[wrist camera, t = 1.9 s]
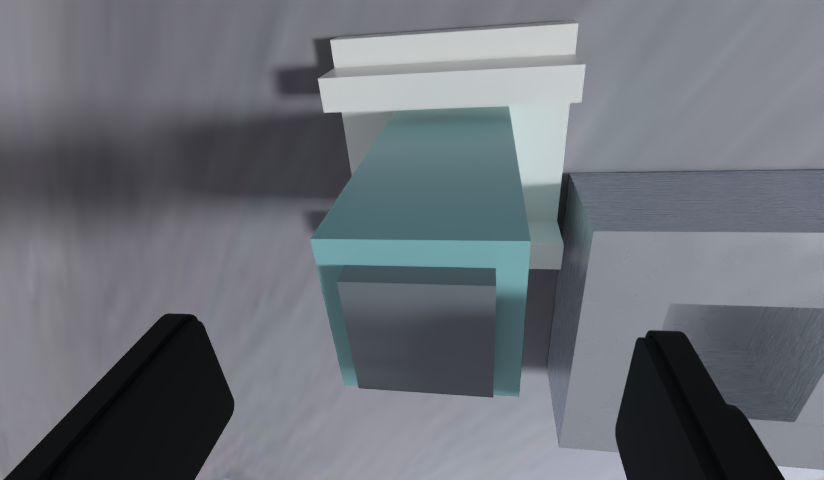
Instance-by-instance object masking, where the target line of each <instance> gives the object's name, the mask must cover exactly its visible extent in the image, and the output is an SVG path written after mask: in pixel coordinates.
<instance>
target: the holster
mask: <svg viewBox="0 0 824 480" xmlns="http://www.w3.org/2000/svg"><path fill="white" fill-rule="evenodd" d="M577 32H578V23H577V22H575V21H574V20H573V21H559V22H544V23H530V24H516V25H501V26H487V27H473V28H458V29H444V30H430V31H415V32H401V33H386V34H372V35H358V36H343V37H336V38H334V39H332V40H330V43H331V49H332V56H333V62H334V69H332V70H331V71H329V72H327V73H326V74H324V75H323V76H321V77H320V78H318V83H319V88H320V94H321V99H322V105H323V111H324V113H330V112H342V118H343V124H344V131H345V137H346V143H347V150H348V156H349V162H350V168H351V175H353V174H354V172H355V171H356V169H357V168H358V166H359V165H360V163H361V161H362V160H363V158H364V157H365V155H366V154H367V152H368V151H369V149H370V148H371V146H372V145H373V143H374V142H375V140H376V139H377V137H378V136H379V134H380V133H381V131H382V130H383V128H384V127H385V125H386V124H387V122H388V121H389V119H390V118H391V116H392V115H393V113H394V112H395V111H402V110H427V109H453V108H478V107H503V106H509V110H510V116H511V122H512V128H513V135H514V141H515V147H516V153H517V159H518V166H519V172H520V178H521V184H522V190H523V196H524V203H525V209H526V215H527V221H528V227H529V234H530V240H531V245H530V258H529V269H560V270H561V264H562V256H563V247H564V244H563V240H562V237H561V233H560V230H559V226H558V222H557V216H558V207H559V198H560V189H561V179H562V170H563V161H564V152H565V143H566V133H567V124H568V115H569V106H570V103H581V99H582V91H583V83H584V75H585V66H586V64H585V63H584V62H583V61H582V60H581V59H580V58H579V57H577V56H576V55H575V50H576V41H577Z"/></svg>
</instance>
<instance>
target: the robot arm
mask: <svg viewBox="0 0 824 480" xmlns="http://www.w3.org/2000/svg"><path fill="white" fill-rule="evenodd" d="M233 411H234V399H233V397H232V394H231V392H230V389H229V387H228V384H227V382H226V379H225V377H224V374H223V372H222V369H221V367H220V364H219V362H218V359H217V357H216V354H215V352H214V350H213V347H212V345H211V342H210V340H209V337H208V335H207V332H206V330H205V327H204V325H203V323H202V322H200V321H198V319H197V318H196V317H195V316H194V315H191V314H165V315H164V316H162V317H161V318H160V319H159V320H158V321H157V322H156V323H155V324H154V325H153V326H152V327H151V328H150V329H149V330H148V331H147V332H146V333H145V334H144V335H143V336H142V337H141V338H140V340H139V341H138V342H137V343H136V344H135V345H134V346H133V347H132V348H131V349H130V350H129V351H128V352H127V353H126V354H125V355H124V356H123V357H122V358H121V359H120V360H119V361H118V362H117V363H116V364H115V365H114V366H113V367H112V368H111V369H110V370H109V372H108V373H107V374H106V375H105V376H104V377H103V378H102V379H101V380H100V381H99V382H98V383H97V384H96V385H95V386H94V387H93V388H92V389H91V390H90V391H89V392H88V393H87V394H86V395H85V396H84V397H83V398H82V399H81V400H80V401H79V402H78V403H77V405H76V406H75V407H74V408H73V409H72V410H71V411H70V412H69V413H68V414H67V415H66V416H65V417H64V418H63V419H62V420H61V421H60V422H59V423H58V424H57V425H56V426H55V427H54V428H53V429H52V430H51V431H50V432H49V433H48V434H47V435H46V437H45V438H44V439H43V440H42V441H41V442H40V443H39V444H38V445H37V446H36V447H35V448H34V449H33V450H32V451H31V452H30V453H29V454H28V455H27V456H26V457H25V458H24V459H23V460H22V461H21V462H20V463H19V464H18V465H17V466H16V467H15V469H14V470H13V471H12V472H11V473H10V474H9V475H8V476H7V477H6V478H5V479H4V480H195V478H196V476H197V475H198V473H199V471H200V470H201V468H202V466H203V464H204V463H205V461H206V459H207V458H208V456H209V454H210V452H211V451H212V449H213V447H214V445H215V444H216V442H217V440H218V439H219V437H220V435H221V433H222V432H223V430H224V428H225V427H226V425H227V423H228V421H229V420H230V418H231V416H232V414H233ZM615 437H616V443H617V447H618V450H619V454H620V457H621V460H622V464H623V467H624V470H625V474H626V477H627V480H785V479H784V477H783V476H782V474H781V472H780V471H779V469H778V468H777V466H776V464H775V463H774V461H773V459H772V458H771V456H770V455H769V453H768V451H767V450H766V448H765V446H764V445H763V443H762V442H761V440H760V438H759V437H758V435H757V433H756V432H755V430H754V429H753V427H752V425H751V424H750V422H749V420H748V419H747V417H746V416H745V415H744V414H743V412H742V411H741V410H740V409H739V408H737V407H736V406H735V405H730V404H726V402H725V400H724V399H723V397H722V395H721V394H720V392H719V390H718V388H717V387H716V385H715V383H714V382H713V380H712V378H711V376H710V375H709V373H708V371H707V370H706V368H705V366H704V365H703V363H702V361H701V359H700V358H699V356H698V354H697V353H696V351H695V349H694V348H693V346H692V344H691V342H690V341H689V339H688V337H687V336H686V335H685V333H683V332H682V331H661V330H649V331H648V332H647V333H646V336H645V337H638V338H637V340H636V343H635V347H634V351H633V355H632V359H631V363H630V367H629V372H628V376H627V380H626V384H625V388H624V392H623V396H622V401H621V405H620V409H619V413H618V417H617V421H616V426H615Z"/></svg>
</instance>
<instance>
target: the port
mask: <svg viewBox="0 0 824 480" xmlns="http://www.w3.org/2000/svg"><path fill="white" fill-rule="evenodd" d="M562 240H563V244H564V247H563V256H562V264H561V270H560V269H558V278H557V286H556V295H555V303H554V311H553V320H552V328H551V337H550V345H549V354H548V362H547V371H548V378H549V385H550V391H551V398H552V405H553V411H554V418H555V424H556V431H557V438H558V444H559V447H562V448H573V449H585V450H597V451H609V452H619V450H618V447H617V443H616V437H615V426H616V421H617V417H618V413H619V409H620V405H621V401H622V396H623V392H624V388H625V384H626V380H627V376H628V372H629V367H630V363H631V359H632V355H633V351H634V347H635V343H636V340H637V338H638V337H645V336H646V333H647V332H648V331H649V330H661V331H682V332H683V333H685V335H686V336H687V337H688V339H689V341H690V342H691V344H692V346H693V348H694V349H695V351H696V353H697V354H698V356H699V358H700V359H701V361H702V363H703V365H704V366H705V368H706V370H707V371H708V373H709V375H710V376H711V378H712V380H713V382H714V383H715V385H716V387H717V388H718V390H719V392H720V394H721V395H722V397H723V399H724V400H725V402H726V404H730V405H735V406H736V407H737V408H739V409H740V410H741V411H742V412H743V414H744V415H745V416H746V417H747V419H748V420H749V422H750V424H751V425H752V427H753V429H754V430H755V432H756V433H757V435H758V437H759V438H760V440H761V442H762V443H763V445H764V446H765V448H766V450H767V451H768V453H769V455H770V456H771V458H772V459H773V461H774V463H775V464H776V466H785V467H796V468H808V469H820V470H824V170H772V171H702V172H633V173H570V176H569V185H568V193H567V201H566V210H565V218H564V227H563V235H562Z"/></svg>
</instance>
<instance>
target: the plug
mask: <svg viewBox="0 0 824 480" xmlns="http://www.w3.org/2000/svg"><path fill="white" fill-rule="evenodd" d="M310 240H311V245H312V249H313V253H314V257H315V262H316V266H317V270H318V275H319V279H320V283H321V288H322V292H323V296H324V301H325V305H326V309H327V314H328V318H329V322H330V327H331V331H332V335H333V340H334V344H335V348H336V353H337V357H338V361H339V366H340V370H341V374H342V379H343V383H344V385H354V386H358V388H364V389H378V390H393V391H408V392H422V393H437V394H451V395H466V396H480V397H493V395H501V396H516V397H519V391H520V378H521V365H522V351H523V338H524V325H525V311H526V298H527V285H528V271H529V258H530V245H531V240H530V234H529V227H528V221H527V215H526V209H525V203H524V196H523V190H522V184H521V178H520V172H519V166H518V159H517V153H516V147H515V141H514V135H513V128H512V122H511V116H510V110H509V106H503V107H478V108H453V109H427V110H402V111H395V112H394V113H393V115H392V116H391V118H390V119H389V121H388V122H387V124H386V125H385V127H384V128H383V130H382V131H381V133H380V134H379V136H378V137H377V139H376V140H375V142H374V143H373V145H372V146H371V148H370V149H369V151H368V152H367V154H366V155H365V157H364V158H363V160H362V161H361V163H360V165H359V166H358V168H357V169H356V171H355V172H354V174H353V175H352V177H351V178H350V180H349V181H348V183H347V184H346V186H345V187H344V189H343V190H342V192H341V193H340V195H339V196H338V198H337V199H336V201H335V202H334V204H333V205H332V207H331V208H330V210H329V211H328V213H327V214H326V216H325V217H324V219H323V220H322V222H321V223H320V225H319V226H318V228H317V230H316V231H315V233H314V234H313V236H312V237H311V239H310Z"/></svg>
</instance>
